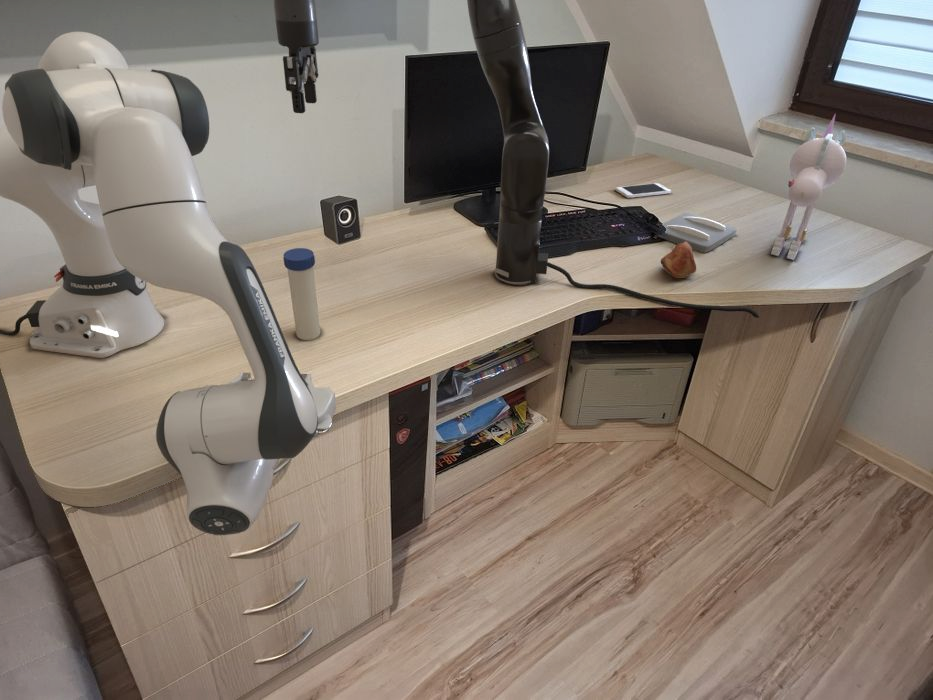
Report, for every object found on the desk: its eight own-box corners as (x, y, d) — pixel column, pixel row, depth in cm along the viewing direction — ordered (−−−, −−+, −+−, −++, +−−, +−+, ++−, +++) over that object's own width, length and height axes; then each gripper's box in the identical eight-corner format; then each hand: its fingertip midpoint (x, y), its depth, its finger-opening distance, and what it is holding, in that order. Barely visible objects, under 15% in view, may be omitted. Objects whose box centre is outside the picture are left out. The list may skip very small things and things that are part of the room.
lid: (279, 268, 112) (277, 258, 111) (292, 256, 116) (291, 246, 115) (307, 272, 111) (306, 262, 110) (319, 259, 116) (318, 249, 115)
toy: (826, 222, 178) (867, 110, 161) (806, 269, 152) (852, 142, 135) (779, 212, 183) (814, 103, 167) (751, 256, 157) (789, 132, 141)
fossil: (669, 273, 140) (675, 228, 140) (641, 275, 147) (646, 232, 147) (707, 283, 147) (712, 240, 147) (678, 285, 154) (683, 244, 154)
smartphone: (614, 190, 195) (615, 187, 194) (657, 185, 199) (658, 182, 199) (627, 198, 189) (628, 195, 189) (671, 193, 194) (671, 190, 193)
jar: (292, 338, 121) (281, 260, 112) (302, 326, 124) (292, 249, 115) (314, 341, 120) (305, 263, 111) (324, 329, 123) (315, 252, 114)
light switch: (708, 241, 156) (653, 223, 165) (705, 253, 158) (650, 234, 167) (740, 223, 167) (687, 206, 176) (737, 234, 169) (684, 217, 178)
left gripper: (326, 418, 87) (341, 361, 99) (175, 416, 87) (208, 358, 98) (330, 453, 91) (344, 393, 102) (185, 450, 90) (215, 391, 102)
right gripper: (305, 22, 113) (314, 117, 122) (325, 13, 125) (332, 100, 134) (263, 21, 113) (276, 115, 122) (287, 12, 125) (297, 98, 134)
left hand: (276, 376), depth 100 cm, fingers open, 8 cm apart
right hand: (305, 107), depth 128 cm, fingers open, 8 cm apart
